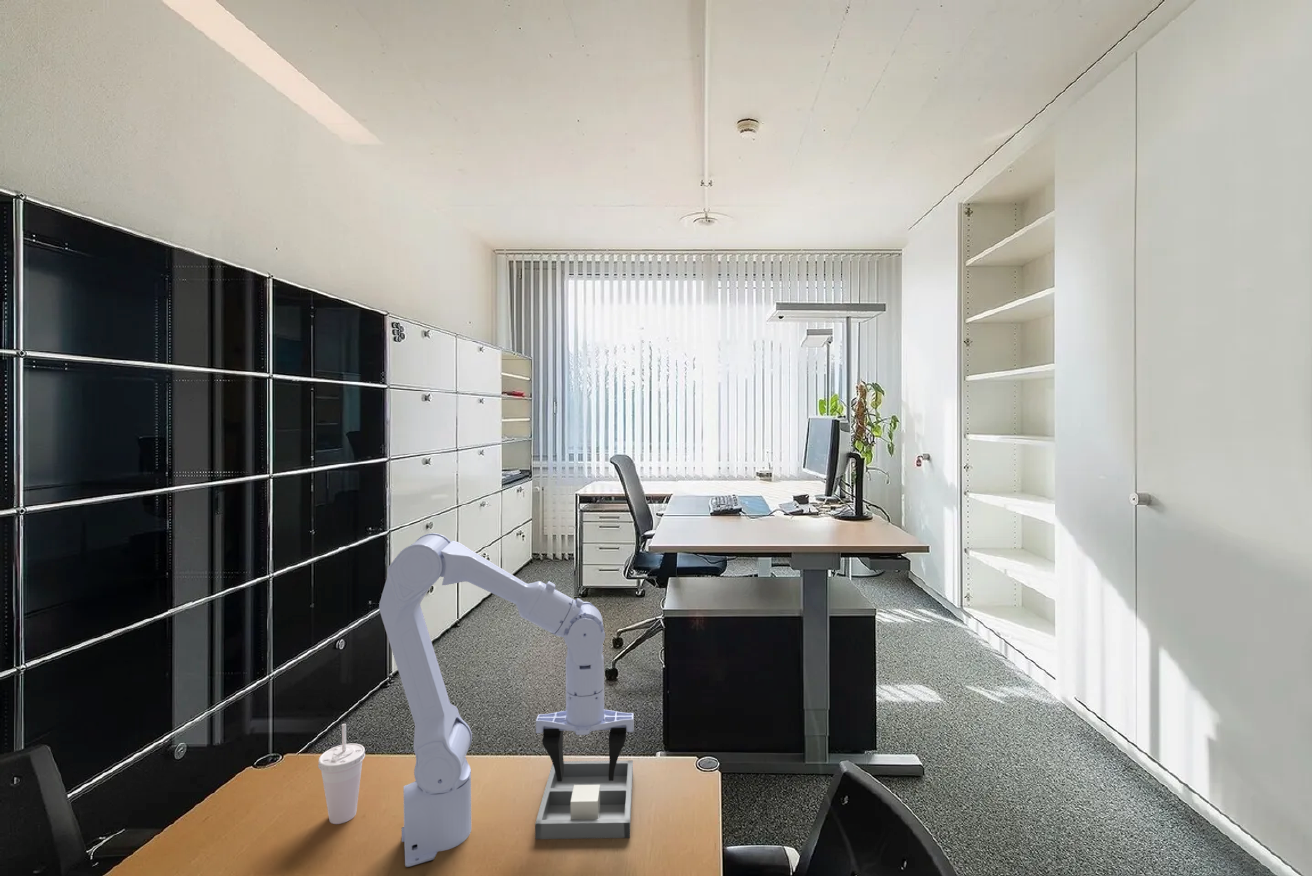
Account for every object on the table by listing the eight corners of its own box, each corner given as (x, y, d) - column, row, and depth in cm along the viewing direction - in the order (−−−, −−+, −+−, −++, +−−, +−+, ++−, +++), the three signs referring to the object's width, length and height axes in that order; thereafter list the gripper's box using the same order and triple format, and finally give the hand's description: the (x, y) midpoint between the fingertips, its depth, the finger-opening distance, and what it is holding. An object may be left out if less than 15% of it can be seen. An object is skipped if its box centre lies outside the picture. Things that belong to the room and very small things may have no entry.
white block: (570, 828, 86) (570, 801, 86) (574, 810, 90) (574, 785, 90) (597, 828, 86) (597, 801, 86) (600, 810, 90) (599, 784, 90)
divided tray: (535, 844, 83) (535, 823, 83) (553, 778, 99) (553, 761, 99) (629, 843, 84) (629, 822, 84) (632, 777, 99) (632, 760, 99)
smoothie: (374, 803, 93) (373, 717, 92) (349, 831, 86) (348, 738, 86) (336, 801, 93) (335, 715, 93) (309, 829, 87) (307, 736, 87)
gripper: (531, 701, 83) (532, 794, 83) (632, 699, 83) (633, 793, 84) (540, 679, 90) (541, 766, 90) (633, 678, 90) (634, 764, 91)
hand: (585, 777), depth 88 cm, fingers open, 7 cm apart
